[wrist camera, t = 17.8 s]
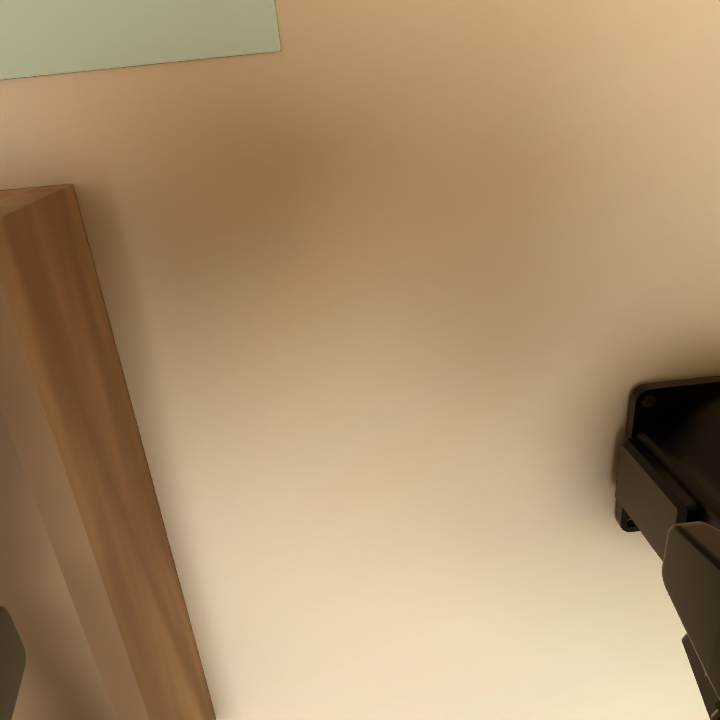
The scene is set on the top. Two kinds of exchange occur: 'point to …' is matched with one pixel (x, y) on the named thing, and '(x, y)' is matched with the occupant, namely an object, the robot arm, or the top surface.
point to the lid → (128, 33)
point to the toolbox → (80, 492)
